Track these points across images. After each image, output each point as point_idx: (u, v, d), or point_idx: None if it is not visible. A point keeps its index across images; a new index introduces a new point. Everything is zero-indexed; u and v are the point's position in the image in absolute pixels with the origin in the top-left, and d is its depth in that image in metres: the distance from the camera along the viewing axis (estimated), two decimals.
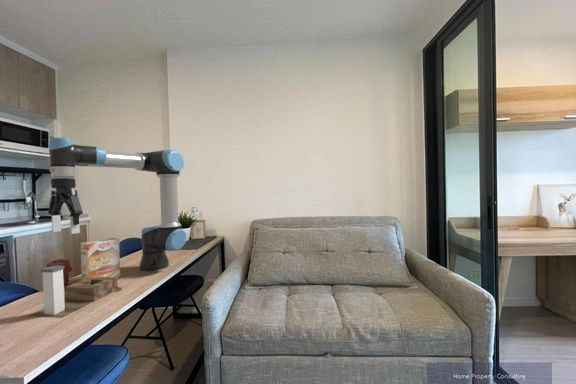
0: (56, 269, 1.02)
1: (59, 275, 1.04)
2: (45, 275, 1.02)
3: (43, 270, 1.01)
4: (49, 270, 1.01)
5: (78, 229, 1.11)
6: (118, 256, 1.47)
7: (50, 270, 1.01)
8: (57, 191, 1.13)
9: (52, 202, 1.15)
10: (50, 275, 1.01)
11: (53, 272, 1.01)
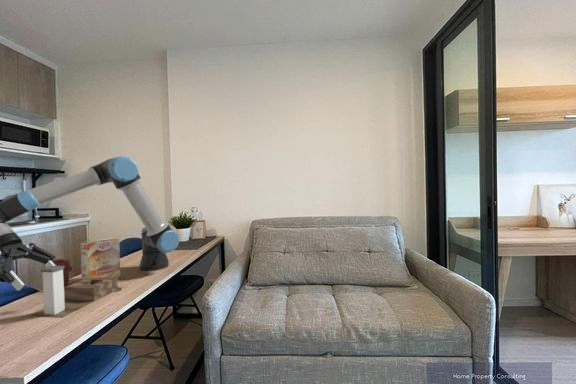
0: (56, 269, 1.02)
1: (59, 275, 1.04)
2: (45, 275, 1.02)
3: (43, 270, 1.01)
4: (49, 270, 1.01)
5: (19, 283, 0.96)
6: (118, 256, 1.47)
7: (50, 270, 1.01)
8: None
9: None
10: (50, 275, 1.01)
11: (53, 272, 1.01)
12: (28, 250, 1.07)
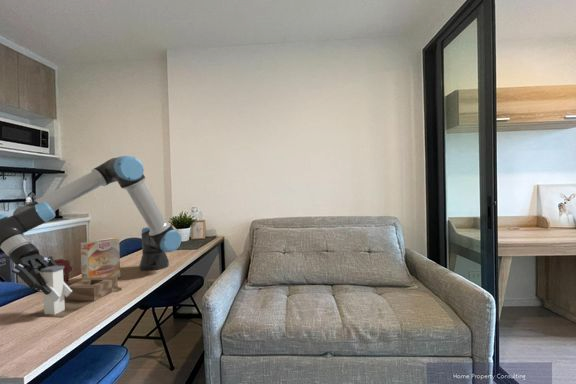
0: (56, 269, 1.02)
1: (59, 275, 1.04)
2: (45, 275, 1.02)
3: (43, 270, 1.01)
4: (49, 270, 1.01)
5: (55, 294, 1.00)
6: (118, 256, 1.47)
7: (50, 270, 1.01)
8: None
9: None
10: (50, 275, 1.01)
11: (53, 272, 1.01)
12: (43, 263, 1.06)
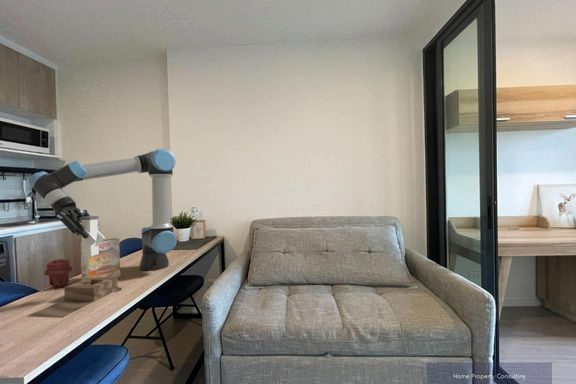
0: (92, 217, 1.19)
1: (94, 224, 1.20)
2: (83, 222, 1.18)
3: (81, 218, 1.18)
4: (87, 218, 1.17)
5: (92, 238, 1.17)
6: (118, 256, 1.47)
7: (87, 218, 1.17)
8: None
9: None
10: (87, 222, 1.18)
11: (90, 219, 1.18)
12: (80, 213, 1.22)
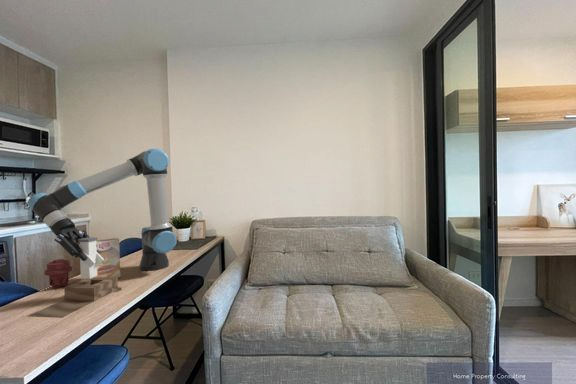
0: (91, 239, 1.19)
1: (93, 245, 1.20)
2: (82, 244, 1.18)
3: (80, 240, 1.18)
4: (85, 240, 1.17)
5: (91, 261, 1.17)
6: (118, 256, 1.47)
7: (86, 240, 1.17)
8: None
9: None
10: (86, 244, 1.18)
11: (88, 241, 1.18)
12: (79, 235, 1.22)
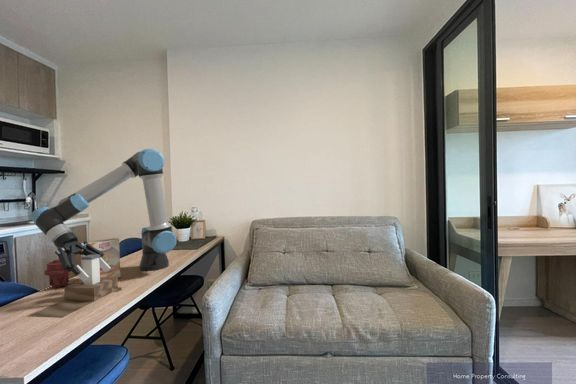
0: (94, 257, 1.19)
1: (96, 262, 1.21)
2: (85, 262, 1.19)
3: (83, 258, 1.18)
4: (88, 258, 1.18)
5: (84, 275, 1.14)
6: (118, 256, 1.47)
7: (89, 258, 1.18)
8: None
9: None
10: (89, 262, 1.18)
11: (92, 259, 1.18)
12: (83, 247, 1.23)
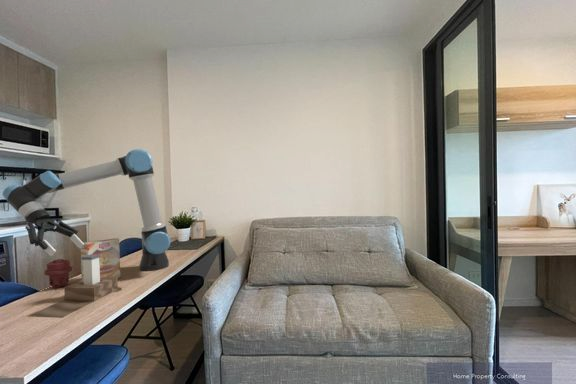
0: (94, 257, 1.19)
1: (96, 262, 1.21)
2: (85, 262, 1.19)
3: (83, 258, 1.18)
4: (88, 258, 1.18)
5: (51, 249, 1.14)
6: (118, 256, 1.47)
7: (89, 258, 1.18)
8: None
9: None
10: (89, 262, 1.18)
11: (92, 259, 1.18)
12: (56, 224, 1.25)
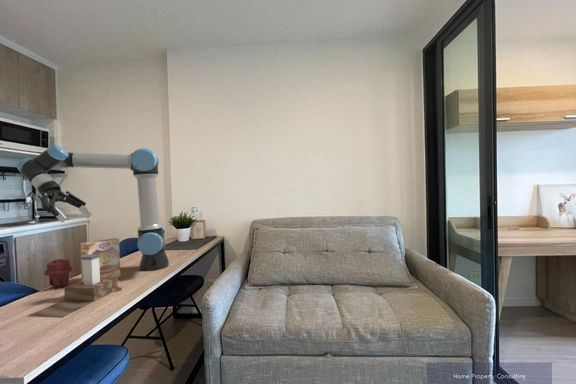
0: (94, 257, 1.19)
1: (96, 262, 1.21)
2: (85, 262, 1.19)
3: (83, 258, 1.18)
4: (88, 258, 1.18)
5: (62, 216, 1.24)
6: (118, 256, 1.47)
7: (89, 258, 1.18)
8: None
9: None
10: (89, 262, 1.18)
11: (92, 259, 1.18)
12: (66, 195, 1.34)
